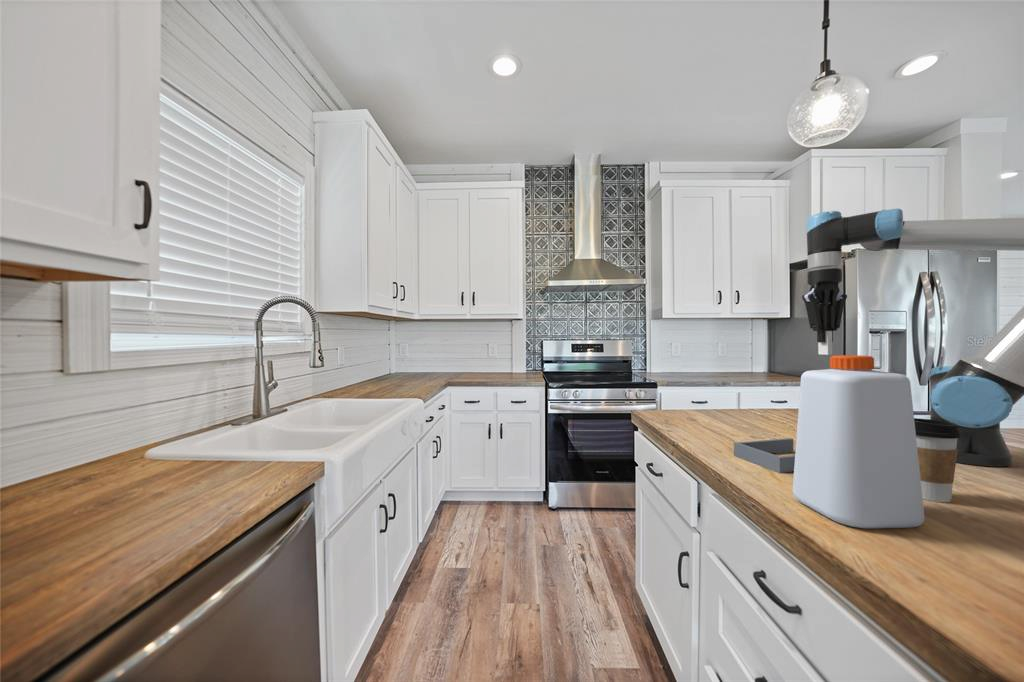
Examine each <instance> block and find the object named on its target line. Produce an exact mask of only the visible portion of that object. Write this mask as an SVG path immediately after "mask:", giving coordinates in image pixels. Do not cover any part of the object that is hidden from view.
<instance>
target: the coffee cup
mask: <svg viewBox="0 0 1024 682" xmlns="http://www.w3.org/2000/svg"><path fill="white" fill-rule="evenodd" d="M914 422H915V432H916V441H917V451H918V460H919V470H920V479H921V489H922V498H923V499H926V500H925V501H928V500H930V501H929V502H933V501H935V502H934V503H950V502H952V496H953V486H954V485H953V484H954V480H955V473H956V465H957V462H956V459H957V451H958V448H957V447H956V446H957V438H960V432H959V431H958V426H957V424H955V423H951V422H946V421H939V420H931V418H930V419H929V418H915V417H914Z"/></svg>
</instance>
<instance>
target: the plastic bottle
mask: <svg viewBox="0 0 1024 682" xmlns="http://www.w3.org/2000/svg"><path fill="white" fill-rule="evenodd" d="M799 385H800V386H799V399H798V414H797V423H796V424H797V425H796V426H797V427H796V437H795V438H796V439H795V454H794V455H795V464H794V472H793V479H792V480H793V481H792V495H793V497H794V498H795V499H796V501H798V502H800V503H801V504H802V505H805V506H807V507H808V508H810V509H811V510H813V511H815V512H817V513H819V514H821V515H822V516H824V517H827V518H828V519H830V520H832V521H834V522H836V523H839V524H842V525H845V526H847V527H851V528H852V527H853V528H859V529H901V528H902V529H903V528H904V529H905V528H909V529H910V528H917V527H920V526H921V525H922V524H923V523H925V519H926V518H925V510H924V509H925V508H924V500H923V498H922V489H921V479H920V470H919V460H918V451H917V441H916V432H915V422H914V418H915V415H914V405H913V396H912V385H911V381H910V378H909V377H908V376H907V375H905V374H901V373H897V372H889V371H881V370H875V358H874V357H873V356H872V355H860V354H859V355H851V354H849V355H848V354H847V355H845V354H844V355H843V354H842V355H841V354H838V355H837V354H836V355H832V356H830V357H829V368H826V369H812V370H806V371H805V372H803V373H802V374H801V376H800V384H799Z"/></svg>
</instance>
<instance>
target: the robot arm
mask: <svg viewBox="0 0 1024 682" xmlns="http://www.w3.org/2000/svg"><path fill="white" fill-rule="evenodd" d="M903 213H904V211H903V209H901V208H891V209H882V210H881V209H880V210H879V211H874V212H873V211H871V212H867V213H862V214H857V215H853V216H846V217H845V216H842V212H840V211H837V210H831V211H823V212H819V213H815V214H813V215H811V216H809V218H808V220H807V226H806V227H807V229H806V246H807V249H806V250H807V270H808V272H807V285H808V286H810V288H809V292H807V294H802V296H801V299H802V301H803V302H804V305H805V309H806V314H807V319H808V324H809V327H810V329H812V330H813V331H814V332H816V341H817V343H818V344H817V347H818V348H817V349H818V350H817V351H818V355H822V356H823V355H827V356H828V355H832V356H833V341H834V332H835V331H838V329H840V328H841V321H842V316H843V313H844V306H845V302H846V300H847V299H848V294H842V293H841V292H840V288H839V287H840V286H839V284H840V283H842V281H843V270H842V269H841V268H842V267H843V251H842V247H844V246H850V245H858V244H859V245H860V246H861V247H862V248H864V249H865V250H867V251H871V252H880V251H885V250H928V251H929V250H933V251H934V250H938V251H939V250H941V251H943V250H947V251H948V250H949V251H954V250H955V251H1011V252H1012V251H1015V252H1016V251H1017V252H1018V251H1019V252H1020V251H1021V252H1023V251H1024V217H1006V218H1005V217H1004V218H1003V217H1001V218H999V217H998V218H996V217H995V218H966V219H931V220H929V219H927V220H924V219H923V220H904V214H903ZM928 379H929V404H930V410H929V411H930V413H929V414H930V416H929V417H930V420H939V421H946V422H951V423H955V424H957V426H958V431H959V432H960V438H957V446H956V447H957V448H958V451H957V459H956V463H958V464H965V465H972V466H983V467H1002V468H1003V467H1009V466H1012V463H1013V462H1012V459H1013V458H1012V454H1011V452H1010V449H1009V448H1008V445H1007V443H1006V441H1005V440H1004V437H1003V435H1002V433H1001V426H1000V425H1001V422H1003V421H1004V420H1006V419H1007V418H1008V417H1009V416H1010V413H1011V412H1012V409H1013V406H1014V405H1016V403H1017V402H1019V401H1020V400H1021V399H1022V398H1023V397H1024V306H1022V308H1021V309H1020V310H1019V311H1018V312H1016V314H1015V315H1014V316H1013V317H1012V318H1011V319H1010V320H1009V321H1008V322H1007V323H1006V324H1005V325H1004V326H1003V327H1002V329H1000V330H999V331H998V332H997V333H996V334H995V335H994V336H993V337H992V339H991V340H989V341H988V343H987V344H986V345H985V346H983V348H982V349H980V351H979V352H978V353H977V354H976V355H973V356H967V357H962V358H960V359H959V360H958V361H957V362H956V363H955V364H954V365H953V366H952V365H949V366H948V365H947V366H936V367H935V366H934V367H933V368H931V369H930V374H929V376H928Z"/></svg>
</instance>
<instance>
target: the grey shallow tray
mask: <svg viewBox="0 0 1024 682" xmlns="http://www.w3.org/2000/svg"><path fill="white" fill-rule="evenodd" d="M792 451H793V452H794V438H791V437H789V438H777V439H775V438H774V439H762V440H749V441H739V442H736V441H734V442H733V456H734V457H737V458H738V459H742V460H744V461H746V462H749V463H752V464H755V465H757V466H760V467H761V468H763V467H764V468H765V469H768V470H770V471H774V472H776V473H778V474H782V473H784V472H785V473H792V471H794V464H795V454H791V455H789V454H788V455H781V456H780V455H777V454H782V453H781V452H786V453H793V452H792ZM772 453H775V454H772Z"/></svg>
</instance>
